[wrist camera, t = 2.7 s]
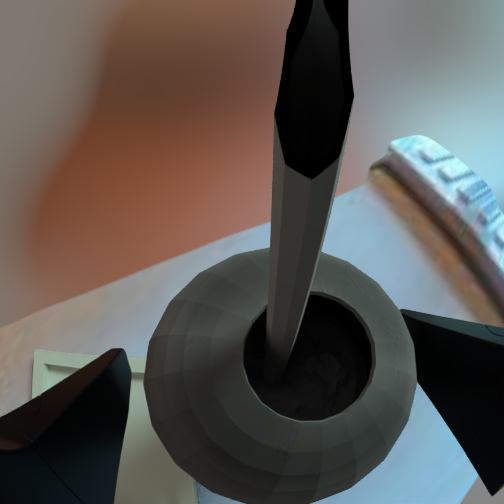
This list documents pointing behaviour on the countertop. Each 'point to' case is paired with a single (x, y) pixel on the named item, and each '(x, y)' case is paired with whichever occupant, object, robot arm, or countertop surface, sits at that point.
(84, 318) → the countertop surface
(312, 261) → the beverage cup
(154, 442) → the tray
